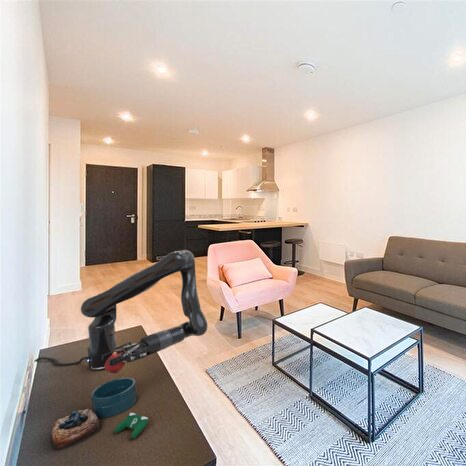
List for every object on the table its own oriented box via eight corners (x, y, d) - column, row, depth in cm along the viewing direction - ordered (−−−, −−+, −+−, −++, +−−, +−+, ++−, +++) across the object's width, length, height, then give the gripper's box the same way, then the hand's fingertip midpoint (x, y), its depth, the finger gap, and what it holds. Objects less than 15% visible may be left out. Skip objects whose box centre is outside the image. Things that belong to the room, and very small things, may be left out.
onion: (114, 378, 104) (112, 357, 103) (101, 376, 105) (99, 355, 104) (129, 369, 109) (128, 349, 109) (117, 368, 110) (115, 347, 110)
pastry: (94, 415, 102) (93, 399, 101) (102, 431, 94) (101, 414, 94) (49, 433, 93) (48, 416, 93) (54, 453, 86) (52, 435, 85)
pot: (83, 416, 101) (81, 397, 100) (114, 394, 113) (112, 377, 112) (116, 418, 100) (115, 399, 99) (144, 395, 112) (143, 378, 112)
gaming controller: (141, 440, 93) (153, 419, 96) (131, 438, 90) (144, 416, 94) (121, 433, 96) (133, 412, 99) (111, 431, 93) (125, 410, 97)
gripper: (147, 329, 122) (96, 345, 108) (165, 337, 114) (113, 356, 100) (148, 346, 123) (98, 365, 108) (166, 355, 115) (115, 376, 101)
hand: (106, 360), depth 104 cm, fingers closed on onion, 5 cm apart
